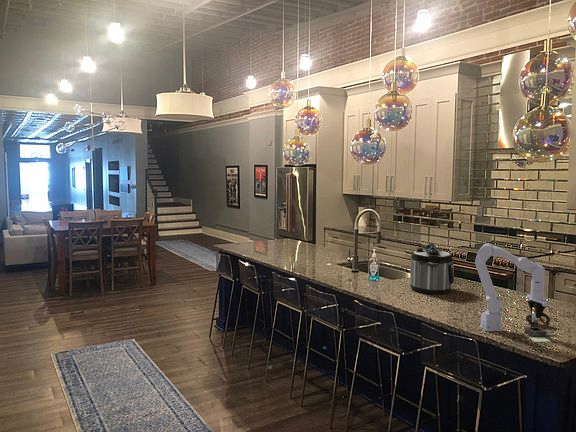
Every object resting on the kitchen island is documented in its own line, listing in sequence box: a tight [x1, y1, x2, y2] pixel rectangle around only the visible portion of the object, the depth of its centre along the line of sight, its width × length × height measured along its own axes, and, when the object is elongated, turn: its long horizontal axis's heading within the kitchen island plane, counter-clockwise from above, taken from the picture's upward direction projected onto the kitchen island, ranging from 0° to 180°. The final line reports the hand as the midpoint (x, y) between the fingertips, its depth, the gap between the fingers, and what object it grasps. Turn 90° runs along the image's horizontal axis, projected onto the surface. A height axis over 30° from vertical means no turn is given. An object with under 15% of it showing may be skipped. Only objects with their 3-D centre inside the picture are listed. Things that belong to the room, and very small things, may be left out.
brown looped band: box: [525, 312, 551, 329], centre depth 251 cm, size 12×10×8 cm
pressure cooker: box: [409, 242, 455, 295], centre depth 324 cm, size 30×28×32 cm
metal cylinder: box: [532, 307, 540, 323], centre depth 236 cm, size 3×3×7 cm
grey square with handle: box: [523, 326, 555, 338], centre depth 237 cm, size 13×7×3 cm, turn 94°
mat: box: [528, 337, 552, 343], centre depth 230 cm, size 8×5×1 cm, turn 94°
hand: (536, 316), depth 236 cm, fingers closed on metal cylinder, 3 cm apart
